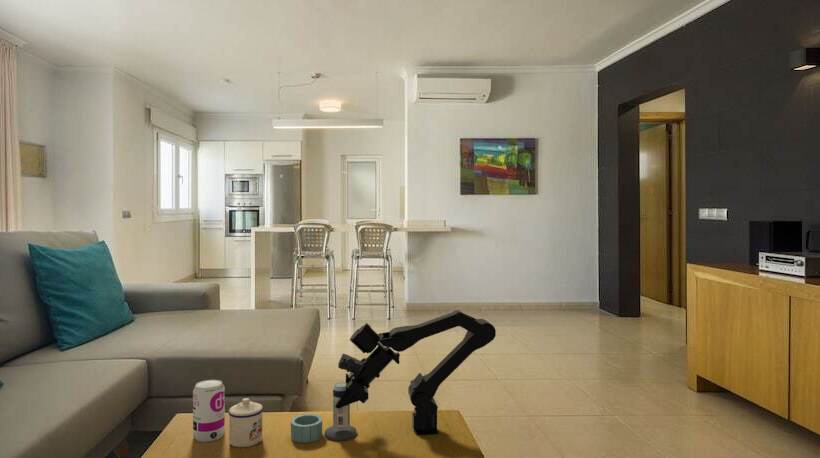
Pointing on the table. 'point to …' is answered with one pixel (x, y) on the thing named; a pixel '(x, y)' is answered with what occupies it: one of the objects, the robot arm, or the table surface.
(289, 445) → the table surface
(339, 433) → the rubber mat
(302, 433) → the plastic tub
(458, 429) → the table surface
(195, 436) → the supplement can
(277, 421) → the table surface
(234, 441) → the teacup with lid
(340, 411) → the beer can
